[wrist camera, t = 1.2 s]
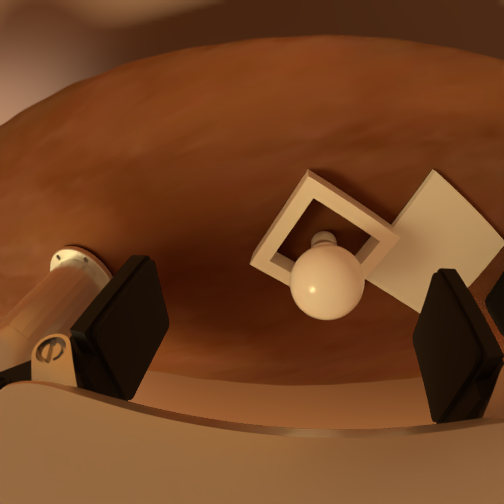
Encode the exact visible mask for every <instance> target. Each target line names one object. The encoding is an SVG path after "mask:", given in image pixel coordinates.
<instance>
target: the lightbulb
mask: <svg viewBox="0 0 504 504" xmlns="http://www.w3.org/2000/svg"><path fill="white" fill-rule="evenodd" d="M364 284H365V280H364V273H363V269H362V267H361V265H360V263H359V261H358V260H357V258H356V257H355V256H354V255H353V254H352V253H351V252H349V251H348V250H346V249H345V248H343V247H340V246H337V241H336V238H335V236H334V235H333V234H332V233H330V232H327V231H321V232H318V233H316V234H315V235H314V236H313V238H312V240H311V248H310V249H309V250H307V251H306V252H304V253H303V254H302V255H301V256H300V257H299V258H298V259H297V261H296V262H295V264H294V266H293V268H292V271H291V275H290V290H291V294H292V297H293V299H294V301H295V303H296V304H297V306H298V307H299V308H300V309H301V310H302V311H303V312H304V313H306V314H307V315H309V316H311V317H313V318H316V319H320V320H334V319H338V318H340V317H343V316H345V315H346V314H348V313H349V312H351V311H352V310H353V309H354V308H355V307H356V305H357V304H358V303H359V301H360V299H361V297H362V294H363V291H364Z"/></svg>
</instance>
